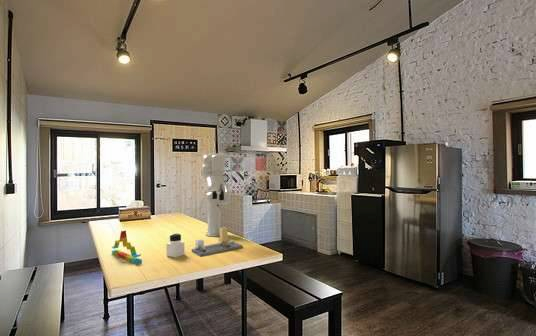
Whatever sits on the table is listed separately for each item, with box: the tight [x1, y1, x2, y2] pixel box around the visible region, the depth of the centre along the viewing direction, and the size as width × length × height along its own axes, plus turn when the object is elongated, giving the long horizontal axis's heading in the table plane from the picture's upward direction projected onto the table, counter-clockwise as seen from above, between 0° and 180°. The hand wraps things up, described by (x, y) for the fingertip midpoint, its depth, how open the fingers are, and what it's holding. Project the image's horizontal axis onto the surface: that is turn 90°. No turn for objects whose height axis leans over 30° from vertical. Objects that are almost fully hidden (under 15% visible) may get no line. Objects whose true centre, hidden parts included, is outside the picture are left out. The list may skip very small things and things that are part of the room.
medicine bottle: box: [166, 233, 186, 258], centre depth 172 cm, size 7×7×12 cm
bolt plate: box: [191, 239, 244, 257], centre depth 182 cm, size 12×28×6 cm, turn 127°
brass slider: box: [217, 226, 230, 246], centre depth 187 cm, size 9×5×10 cm, turn 37°
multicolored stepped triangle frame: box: [111, 230, 143, 265], centre depth 168 cm, size 30×3×15 cm, turn 49°
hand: (218, 199), depth 200 cm, fingers open, 9 cm apart
